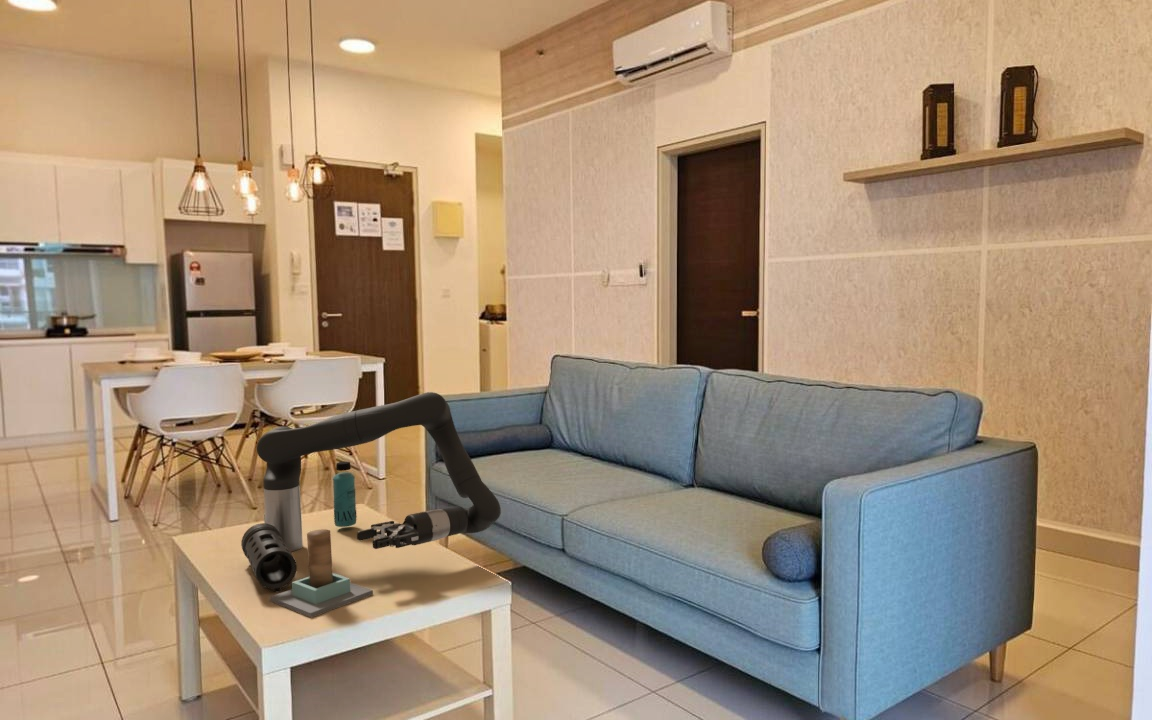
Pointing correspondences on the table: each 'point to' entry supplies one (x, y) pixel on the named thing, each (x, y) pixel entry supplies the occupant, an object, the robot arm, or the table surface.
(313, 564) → the walnut peg
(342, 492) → the beverage bottle
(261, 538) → the muzzle brake
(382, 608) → the table surface
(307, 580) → the socket stand
